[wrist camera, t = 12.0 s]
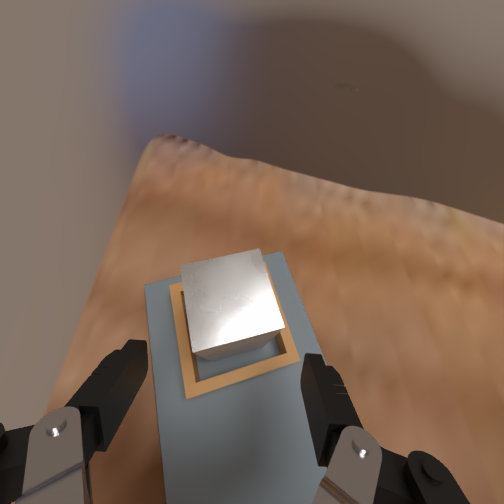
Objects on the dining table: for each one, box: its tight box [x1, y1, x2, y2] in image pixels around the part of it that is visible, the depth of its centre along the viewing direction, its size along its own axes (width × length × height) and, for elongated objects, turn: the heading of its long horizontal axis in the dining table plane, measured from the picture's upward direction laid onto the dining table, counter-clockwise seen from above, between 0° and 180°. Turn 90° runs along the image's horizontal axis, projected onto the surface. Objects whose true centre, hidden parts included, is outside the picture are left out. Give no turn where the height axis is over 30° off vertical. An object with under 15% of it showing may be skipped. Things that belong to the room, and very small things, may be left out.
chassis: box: [144, 251, 327, 504], centre depth 18 cm, size 14×22×4 cm, turn 17°
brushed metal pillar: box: [180, 249, 284, 362], centre depth 17 cm, size 4×4×10 cm
